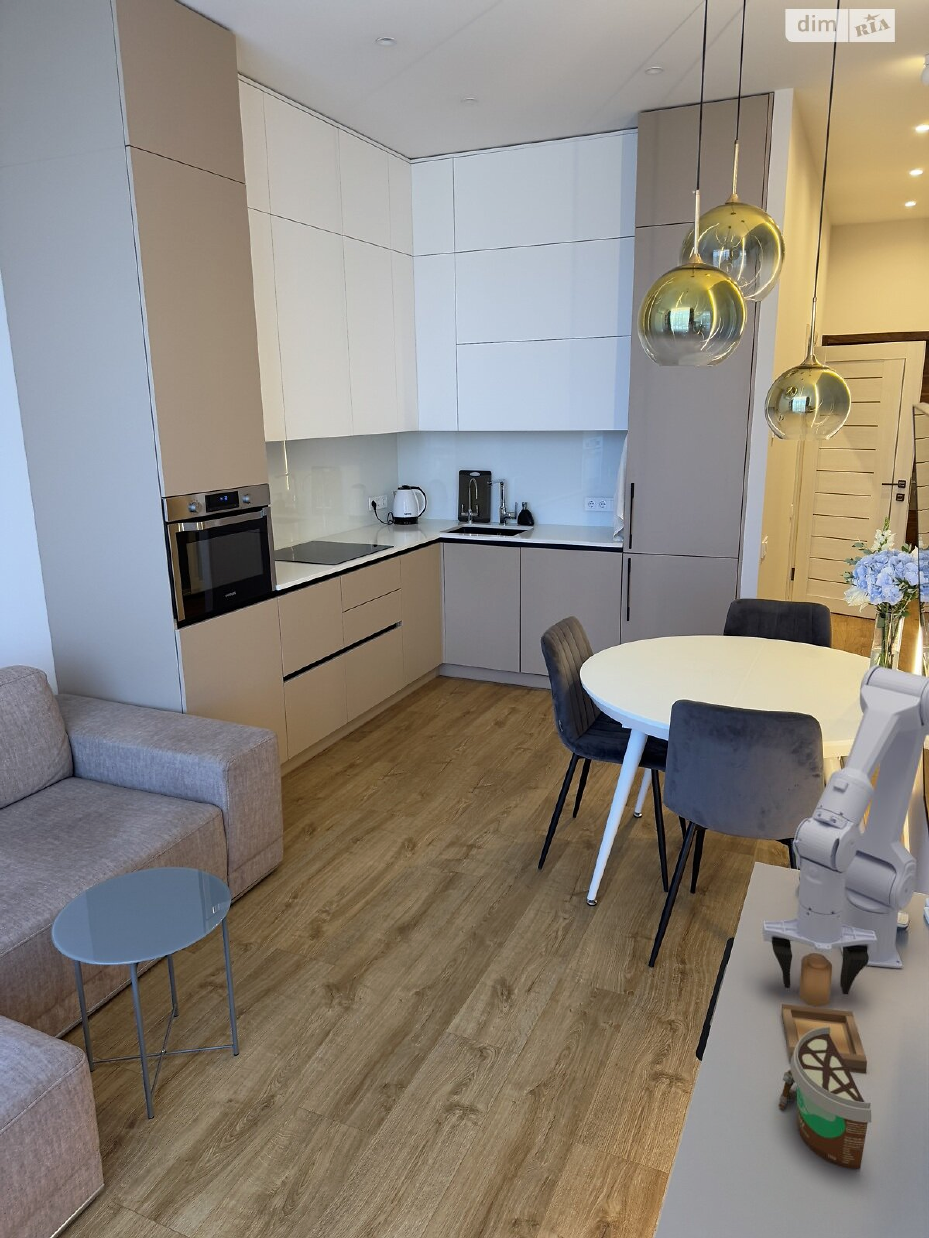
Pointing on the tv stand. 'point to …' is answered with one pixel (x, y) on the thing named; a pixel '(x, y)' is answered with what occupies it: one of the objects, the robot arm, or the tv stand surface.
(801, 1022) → the tray
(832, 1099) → the food container
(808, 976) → the wooden dowel peg
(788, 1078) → the wooden post with brackets
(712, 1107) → the tv stand surface
